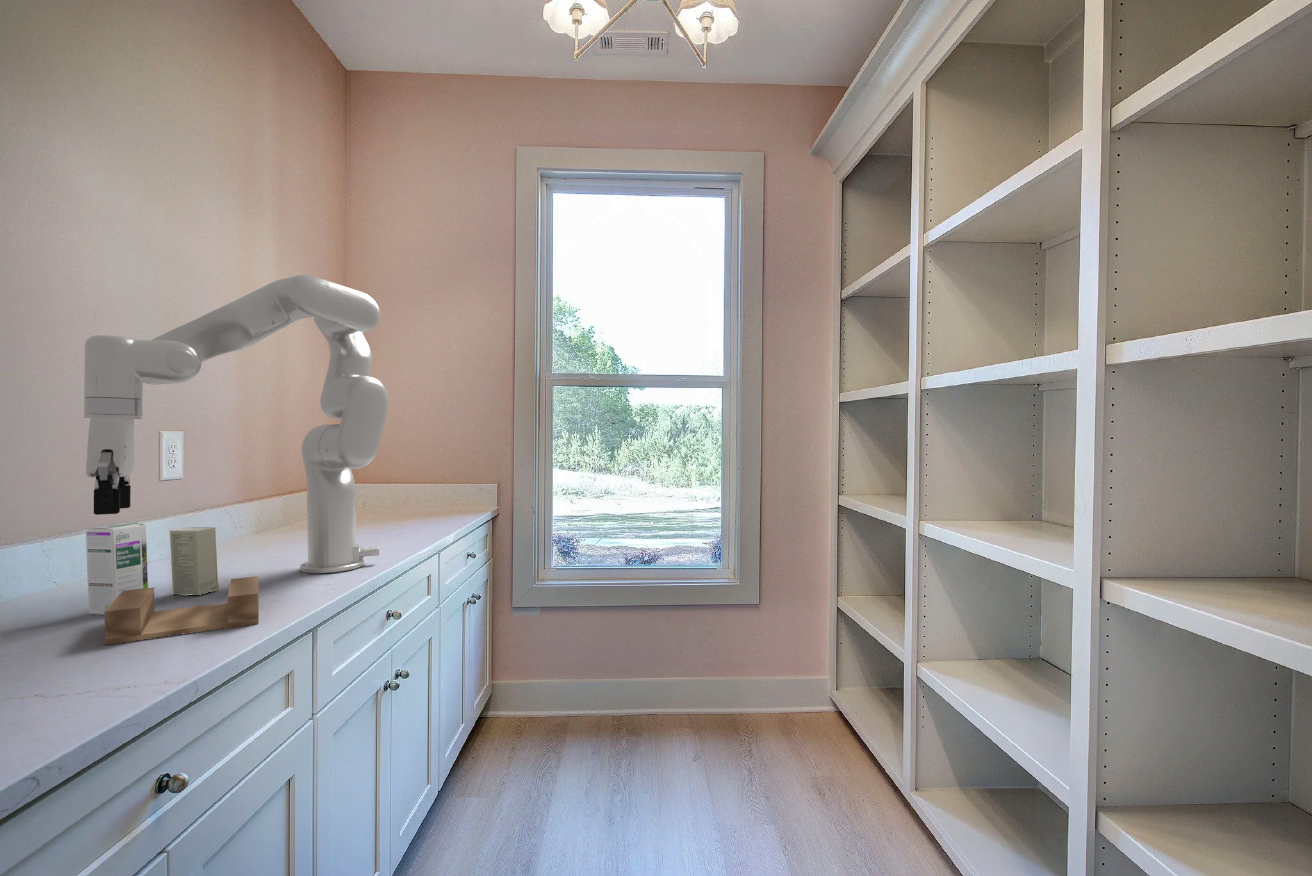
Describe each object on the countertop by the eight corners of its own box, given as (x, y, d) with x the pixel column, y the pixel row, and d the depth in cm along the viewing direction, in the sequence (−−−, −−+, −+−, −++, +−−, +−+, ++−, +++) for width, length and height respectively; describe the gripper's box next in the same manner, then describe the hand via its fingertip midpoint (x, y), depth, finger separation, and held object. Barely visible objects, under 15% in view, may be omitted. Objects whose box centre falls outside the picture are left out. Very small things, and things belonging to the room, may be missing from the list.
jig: (258, 603, 112) (258, 576, 112) (258, 623, 100) (257, 593, 100) (123, 620, 102) (122, 590, 102) (105, 645, 90) (104, 611, 90)
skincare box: (219, 591, 121) (218, 527, 121) (197, 597, 117) (196, 530, 116) (192, 589, 122) (191, 526, 122) (169, 595, 118) (168, 529, 118)
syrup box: (115, 616, 105) (113, 528, 105) (86, 614, 106) (84, 527, 106) (149, 606, 110) (147, 523, 110) (121, 604, 112) (120, 522, 111)
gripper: (96, 411, 113) (95, 507, 113) (71, 407, 98) (70, 517, 98) (149, 412, 117) (148, 505, 117) (133, 408, 102) (132, 515, 102)
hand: (112, 511), depth 108 cm, fingers open, 9 cm apart
